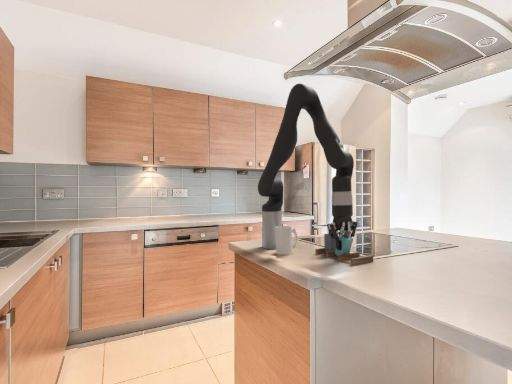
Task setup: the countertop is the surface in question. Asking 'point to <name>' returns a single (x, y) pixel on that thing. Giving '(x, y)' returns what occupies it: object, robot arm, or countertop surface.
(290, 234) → the mug
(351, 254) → the wooden slotted rack
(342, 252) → the teal plug
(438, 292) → the countertop surface
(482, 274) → the countertop surface
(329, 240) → the charcoal plug
